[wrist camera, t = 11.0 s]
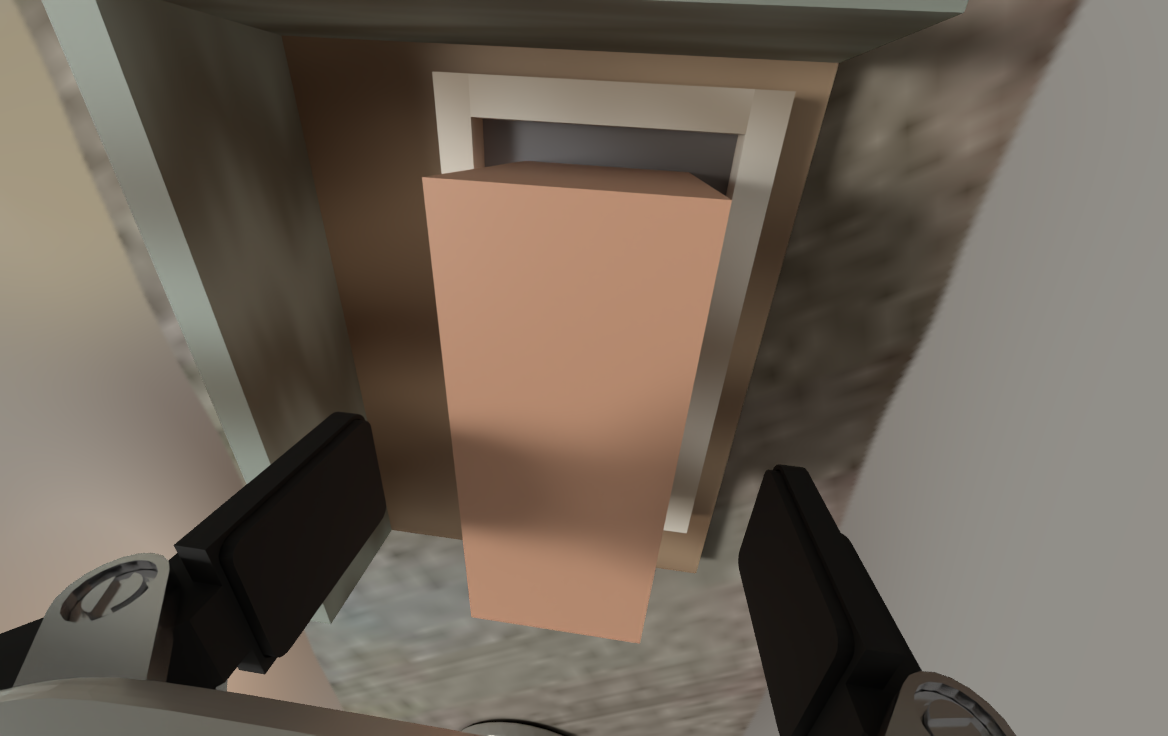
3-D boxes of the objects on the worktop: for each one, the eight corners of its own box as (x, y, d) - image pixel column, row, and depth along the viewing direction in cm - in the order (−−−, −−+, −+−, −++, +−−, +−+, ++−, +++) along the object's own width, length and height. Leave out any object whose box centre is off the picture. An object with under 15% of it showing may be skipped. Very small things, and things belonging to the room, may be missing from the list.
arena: (693, 556, 22) (710, 686, 17) (380, 512, 23) (304, 619, 18) (838, 15, 12) (1002, -91, 6) (257, -9, 13) (-6, -112, 8)
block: (524, 160, 13) (421, 176, 7) (688, 172, 13) (731, 200, 7) (527, 462, 19) (471, 617, 13) (640, 476, 18) (639, 643, 12)
